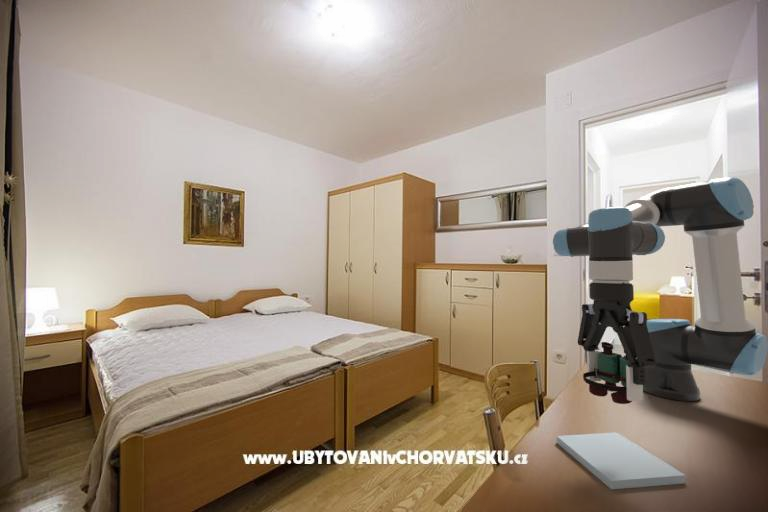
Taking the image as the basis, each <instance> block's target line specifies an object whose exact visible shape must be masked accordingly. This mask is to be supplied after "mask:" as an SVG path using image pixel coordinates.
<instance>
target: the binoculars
mask: <svg viewBox="0 0 768 512" xmlns="http://www.w3.org/2000/svg"><path fill="white" fill-rule="evenodd" d="M600 345H601V348H602V349H603V350H602V351H600V352H599V353H598V369H595V368H594V371H591V372H587V371H586V372H583V374H582V377H583V381H584V382H585V383H586V384H588V391H589V393H590V394H591V395H594V396H597V397H606V396H608V393H609V392H611V393H610V397H611V400H612V402H613V403H615V404H619V405H628V404H631V403H632V402H633V401H629V400H627V383H626V365H628V364H630V363H629V360H628V358H627V356H626V353H625V351H624V350H623V353H624V355H622V354H620V353H616V352H613V349H614V345H613V344H612V343H610V342H606V341H601V342H600ZM636 360H637V358H636ZM595 370H597V377H598V376H599V379H601V381H604V383H601V382H598V381H591V380H589V379H587V377H591V376H594V377H595V378H597V377H596V371H595ZM619 383H620V386H618V385H617V384H619ZM644 389H645V384H644V385H643V390H644Z"/></svg>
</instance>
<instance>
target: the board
mask: <svg viewBox="0 0 768 512" xmlns="http://www.w3.org/2000/svg"><path fill="white" fill-rule="evenodd" d="M556 444H558V445H559V446H560V447H561V448H562V449H564V450H565V451H566V452H567V453H568V454H569V455H571V456H572V457H573V458H574V459H575V460H576V461H578V462H579V463H580V464H581V465H582V466H583V467H584V468H585V469H587V470H588V471H589V472H590V473H591V474H592V475H594V476H595V477H596V478H598V480H600V481H601V482H602V483H603V484H604V485H605V486H606V487H608V488H609V489H610V490H620V489H621V490H623V489H633V488H634V489H635V488H644V487H645V488H647V487H656V486H657V487H658V486H670V485H671V486H672V485H682V484H686V475H685V474H684V473H683V472H682V471H679V470H678V469H677V468H674V467H673V466H671V465H670V464H668V463H666V462H665V461H664V460H662V459H660V458H659V457H658V456H655V455H654V454H652V453H651V452H650V451H647V450H646V449H644V448H642V447H641V446H640V445H638V444H636V443H635V442H632V440H629V438H627V437H625V436H623V435H622V434H620V433H619V432H604V433H603V432H601V433H600V432H599V433H587V434H586V433H585V434H584V433H583V434H570V435H569V434H568V435H556Z"/></svg>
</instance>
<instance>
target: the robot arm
mask: <svg viewBox="0 0 768 512" xmlns="http://www.w3.org/2000/svg"><path fill="white" fill-rule="evenodd" d="M753 216H754V201H753V197H752V194H751V191H750V190H749V187H748V186H747V185H746V183H745V182H744V181H743V180H741V179H740V178H738V177H732V176H731V177H721V178H713V179H709V180H703V181H699V182H693V183H687V184H683V185H677V186H671V187H666V188H662V189H659V190H656V191H653V192H651V193H648V194H645V195H643V196H641V197H638V198H636V199H633V200H631V201H629V202H628V203H626V205H625V206H624V207H623V206H615V207H613V206H612V207H605V208H604V207H602V208H598V209H594V210H592V211H591V212H589V214H588V219H587V221H588V222H586V223H584V224H581V225H579V226H576V227H571V228H569V227H566V228H564V229H563V228H562V229H559V230H557V231H556V232H555V233H554V235H553V238H552V245H553V250H554V251H555V253H556V254H557V255H558V256H560V257H571V258H573V257H588V279H589V280H591V281H592V282H590V283H589V285H588V286H589V287H588V288H589V289H588V290H589V299H590V300H593V302H592V303H590V304H587V303H584V304H582V305H581V311H582V312H581V313H582V315H581V321H580V325H579V326H580V327H579V332H578V338H577V344H578V346H582V348H583V350H584V353H585V354H584V359H585V360H584V361H585V364H586V373H587V372H591V371H594V368H595V369H598V353H599V352H601V351H600V348H599V345H600V344H601V342H602V339H603V337H604V335H605V332H606V331H607V328H608V327H609V328H611V329H612V330H613V332H614V333H616V335H617V336H618V339H619V342H620V344H621V346H622V348H623V352H624V351H625V353H626V355H625V356H627V358H628V360H629V363H630V364H628V365H626V383H627V400H629V401H632V402H640V401H642V402H643V401H644V392H645V393H647V394H650V395H654V396H656V397H661V398H664V399H669V400H675V401H679V402H680V401H681V402H682V401H683V402H696V401H699V400H701V391H700V388H699V387H698V385H697V382H696V379H695V377H694V374H693V371H692V365H694V366H697V367H698V366H699V367H703V368H708V369H710V370H711V369H713V370H716V371H719V372H720V371H721V372H725V373H729V374H732V375H733V374H735V375H741V376H747V377H753V376H756V375H757V374H759V373H760V372H761V370H762V369H763V367H764V365H765V362H766V358H767V355H768V340H767V336H766V335H764V334H762V333H760V332H759V333H756V326H755V324H754V323H752V322H750V321H749V320H747V319H746V310H745V302H744V291H743V281H742V273H741V271H742V270H741V261H740V253H739V252H740V251H739V245H738V244H739V243H738V232H739V231H741V230H742V229H743V228H744V227H745V221H746V220H749V219H751V218H753ZM671 226H674V227H675V226H683V231H684V233H686V234H687V235H689V236H691V239H692V247H693V248H692V249H693V257H694V264H695V265H694V266H695V274H696V275H695V276H696V282H697V283H696V284H697V285H696V286H697V293H698V300H699V302H698V303H699V309H700V312H699V313H700V318H698V319H697V320H695V321H694V325H692V323H691V321H690V320H689V319H684V318H683V319H682V318H681V319H680V318H655V319H654V318H653V319H652V318H651V319H648V314H647V313H646V312H644V311H641V312H640V311H639V312H638V311H634V310H633V309H632V306H631V303H632V302H633V301H634V299H635V298H634V295H635V294H634V293H635V292H634V285H633V283H630V282H631V281H632V280H634V272H633V271H634V270H633V269H634V267H633V266H634V264H633V259H634V258H633V255H634V256H635V255H637V256H646V255H651V254H655V253H656V252H658V251H659V250H661V248H662V247H663V246H664V244H665V241H666V240H665V239H666V235H665V233H664V230H663V229H662V228H661V227H671ZM625 353H624V354H625ZM636 359H637V360H636ZM595 371H596V377H597V370H595ZM586 378H587V379H589V380H591V381H594V382H601V381H602V380H601V379H599V376H598V377H597V378H595V377H594V376H591V377H586ZM644 384H645V389H644V390H643V385H644Z"/></svg>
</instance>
